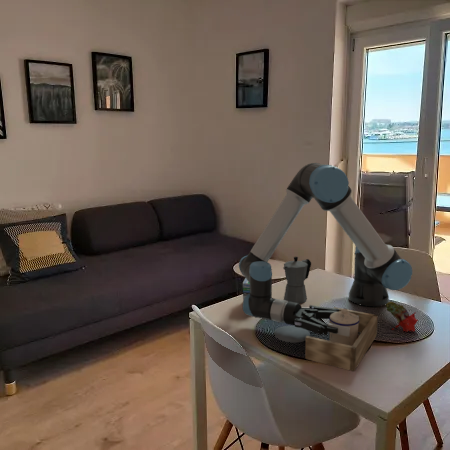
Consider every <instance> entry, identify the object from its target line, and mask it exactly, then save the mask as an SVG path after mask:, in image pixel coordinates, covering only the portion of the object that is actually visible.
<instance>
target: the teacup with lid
mask: <svg viewBox="0 0 450 450" xmlns="http://www.w3.org/2000/svg"><path fill="white" fill-rule="evenodd" d="M348 310H349V309H348ZM348 310H347V308H342V310H341V311H339V312H334V313H332V314H331V315H330V317H329V319H328V320H329V321H328V324H329V323H331V324H336V325H340V326H345V327H350V336H349V337H348V336H343V335H339V334H334V333H329V339H328V341H332V342H336V343H341V344H345V345H349V346H352V345H353V344H354V343H355V341H356V340H357V338H358V337H359V333H358V323H359V318H358V316H357V315H355V314H353V313H350V312H348Z"/></svg>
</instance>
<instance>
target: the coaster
mask: <svg viewBox="0 0 450 450" xmlns="http://www.w3.org/2000/svg"><path fill="white" fill-rule="evenodd" d="M274 335H275V336H274ZM273 336H274V337H275V338H276V339H277V338H278V339H277V340H279V341H281V340H282V341H281V342H284V341H285V342H284V343H289V342H290V343H291V344H292V343H293V344H295V343H297V344H298V343H302V342H306V336H310V337H311V331H309V330H306V329H303V328H298V327H295V326H294V325H284V326H280V327H278V328H276V329H274V332H273Z"/></svg>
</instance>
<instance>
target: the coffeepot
mask: <svg viewBox="0 0 450 450" xmlns="http://www.w3.org/2000/svg"><path fill="white" fill-rule="evenodd" d="M298 259H299V257H298V256H293V260H289V261H285V262H284V263H283V267H282V268H283V270H284V275H285V279H286V281H287V283H286V286H285V290H284V296H283V300H286V301H288V302H296V303H299V304H300V305H301V304H303V303H305V302H306V301H307V300H308V296H307V290H306V285H305V280H307V279H309V275H310V270H311V267H312V262H311V260H310V259H309V258H307V259H303V260H298Z"/></svg>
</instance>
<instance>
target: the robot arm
mask: <svg viewBox="0 0 450 450" xmlns="http://www.w3.org/2000/svg"><path fill="white" fill-rule="evenodd" d="M349 183H350V182H349V179H348V176H347V175H346V173H345V172H344V170H342V169H340V168H339V167H337V166H334V165H332V164H324V163H323V164H322V163H319V162H312V163H308V164H305V165H303V167H301V168H299V170H298V171H297V172H296V174H295V175H294V177H293V178H292V179H291V181H290V183H289V184H288V186H287V187H286V189H285V192H286V194H285V196H284V197H283V200H281V203H280V204H279V206H277V208H276V210H275V212H274V214H272V216H271V218H270V220H269V221H268V223H267V225H266V226H265V228H264V229H263V231H262V232H261V233H260V235H259V237H258V238H257V240H256V242H255V243H254V245H253V246H252V248H251V250H250V251H249V253H248V254H247V255H245V256H243V257H241V259H240V260H239V262H238V268H239V271H240V273H241V275H242V277H244V279H245V278H246V279H247V280H248V282H249V283H250V294H248V295H246V297H245V298H244V303H243V302H242V310H243V312H244V314H245V315H247V316H250V317H253V318H257V319H262V320H263V319H264V320H268V321H273V322H277V323H278V324H279V323H282V324H286V325H288V326H295V327H298V328H303V329H306V330H308V331H309V332H312V333H314V334H317V335H320V336H321V335H324V336H327V335H328V333H329V334H330V333H334V334H339V335H343V336H348V337H349V336H350V327H345V326H340V325H336V324H331V323H329V322H328V324H327V323H325V322H324V321H321V320H329V317H330V315H331V314H332V313H334V312H339V309H337V308H338V307H337V308H334V307H327V306H326V307H325V306H318V305H317V306H316V305H311V304H309V307H308V308H307V307H305V308H304V307H302V305H301V303H300V304H299V303H296V302H288V301H286V300H284V299H280V298H274V297H272V296H273V294H272V292H273V289H272V288H273V287H272V286H273V282H272V280H273V271H272V265H271V263H269V261H270V259H271V257H272V256H273V254H274V253H275V251H276V250H277V248H278V246H279V245H280V243H281V242H282V240H283V239H284V237H285V236H286V235H287V232H288V231H289V229H290V228H291V226H292V224H293V223H294V222H295V220H296V218H297V217H298V215H299V214H300V213H301V211H302V209H303V208H304V206H305V205H309V203H310V202H311V201H312V199H314V200H315V201H316V203H317V204H318V206H319V207H320V208H321V210H323V211H324V212H329V213H330V214H331V215H332V216H333V217H334V219H335V220H336V222H337V223H338V224H339V226H340V227H341V228H342V230H343V231H344V232H345V234H346V235H347V236H348V238H349V239H350V240H351V241H352V243H353V244H354V246H355V249H354V271H353V273H354V274H353V282H352V284H351V287H350V289H349V292H348V300H349V299H350V300H351V301H352V302H351V301H350V300H349V301H350V302H351V303H353V302H355V303H357V304H356V305H358V304H361V305H366V306H365V307H367V306H379V307H382V306H381V305H384V306H386V305H385V304H387V303H389V302H390V300H389V299H390V297H389V293H388V290H390V291H399V290H401V289H403V288H405V287H406V286H408V284H409V283H410V281H411V279H412V275H413V266H412V265H411V264H410V262H408V261H407V260H406V259H404V258H402V257H401V256H400V255H399V253H398V252H397V250H396V249H395V248H394V246H392V245H391V244H386V243H385V242H384V240H383V238H381V236H380V235H379V233H378V232H377V230H376V229H375V228H374V226H373V225H372V223H371V222H370V221H369V219H368V218H367V217H366V215H365V214H364V213H363V211H362V210H361V209H360V207H359V206H358V204H357V203H356V202H355V200H354V199H353V197H352V192H353V190H352V189H351V187H350V185H349ZM355 303H354V304H355ZM361 305H360V306H361ZM358 318H359V316H358ZM358 324H359V323H358Z"/></svg>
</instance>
